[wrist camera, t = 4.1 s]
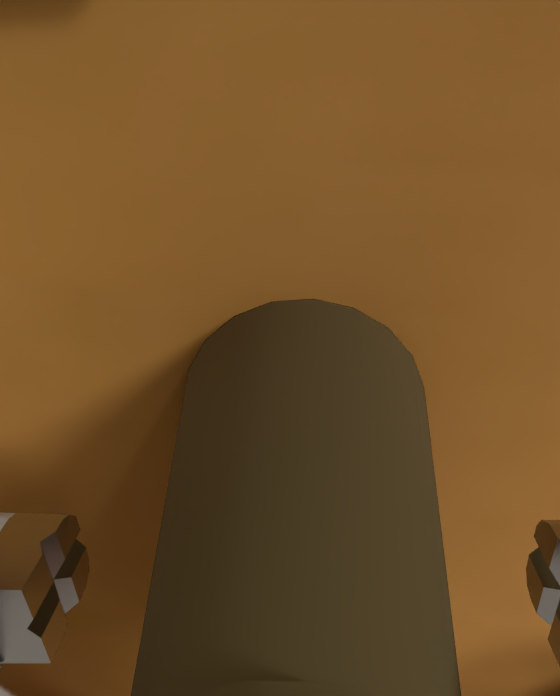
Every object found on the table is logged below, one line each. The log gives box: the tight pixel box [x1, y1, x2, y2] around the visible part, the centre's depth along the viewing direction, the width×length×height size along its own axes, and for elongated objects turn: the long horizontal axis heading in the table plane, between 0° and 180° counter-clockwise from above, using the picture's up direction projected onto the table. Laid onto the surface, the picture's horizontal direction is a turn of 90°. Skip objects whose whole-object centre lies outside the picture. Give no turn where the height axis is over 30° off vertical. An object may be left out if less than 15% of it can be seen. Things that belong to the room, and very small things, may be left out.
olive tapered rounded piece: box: [131, 299, 461, 696], centre depth 8 cm, size 6×6×11 cm
